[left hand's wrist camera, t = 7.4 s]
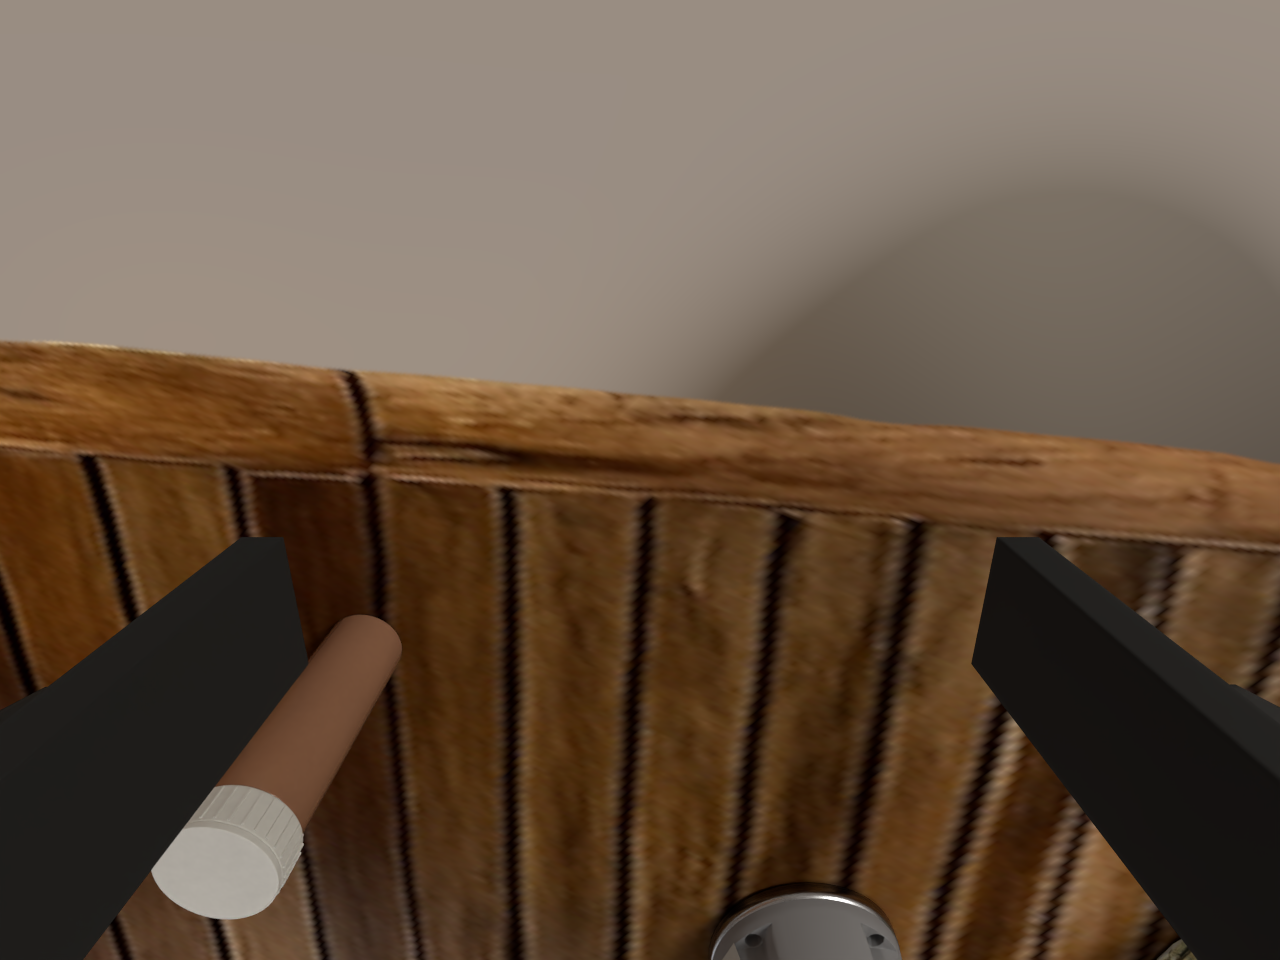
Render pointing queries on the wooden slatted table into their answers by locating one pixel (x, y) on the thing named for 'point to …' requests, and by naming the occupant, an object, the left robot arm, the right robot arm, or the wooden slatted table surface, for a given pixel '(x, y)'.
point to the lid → (231, 854)
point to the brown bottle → (319, 716)
